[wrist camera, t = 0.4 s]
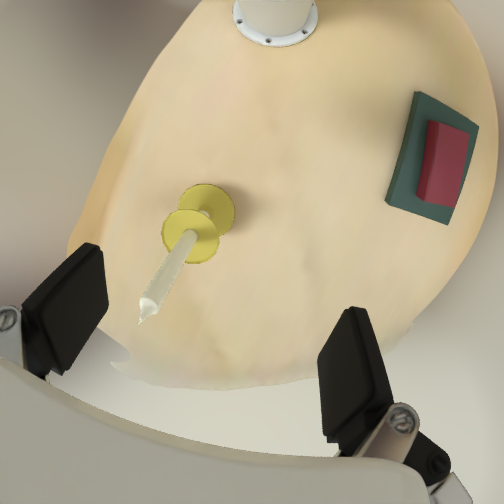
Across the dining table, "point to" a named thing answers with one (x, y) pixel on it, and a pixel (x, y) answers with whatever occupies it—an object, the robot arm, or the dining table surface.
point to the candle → (189, 239)
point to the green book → (413, 152)
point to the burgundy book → (442, 164)
